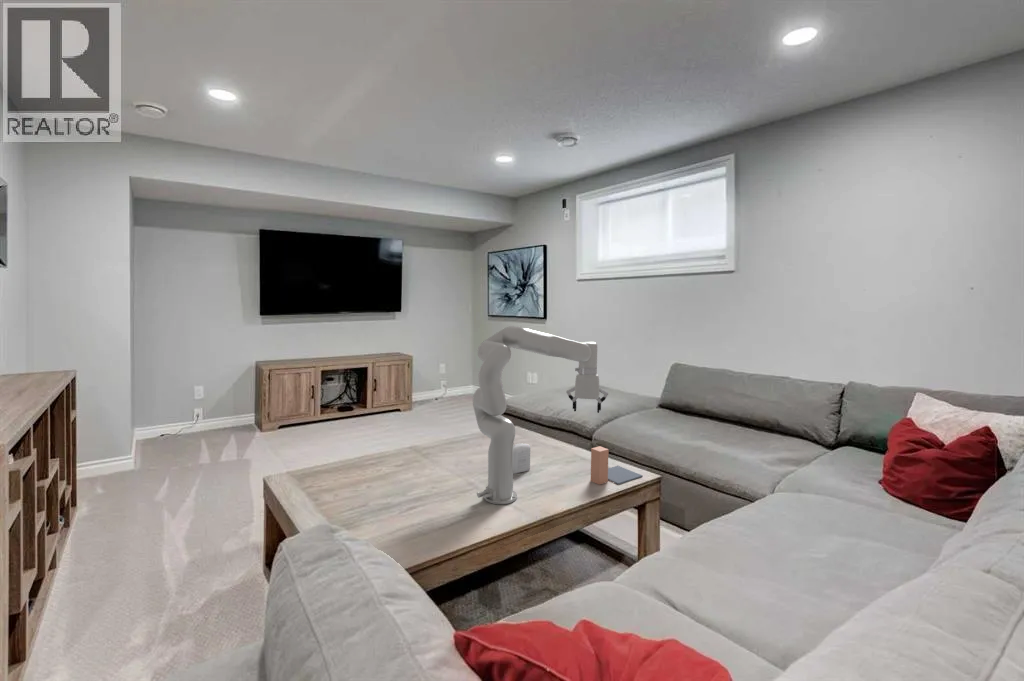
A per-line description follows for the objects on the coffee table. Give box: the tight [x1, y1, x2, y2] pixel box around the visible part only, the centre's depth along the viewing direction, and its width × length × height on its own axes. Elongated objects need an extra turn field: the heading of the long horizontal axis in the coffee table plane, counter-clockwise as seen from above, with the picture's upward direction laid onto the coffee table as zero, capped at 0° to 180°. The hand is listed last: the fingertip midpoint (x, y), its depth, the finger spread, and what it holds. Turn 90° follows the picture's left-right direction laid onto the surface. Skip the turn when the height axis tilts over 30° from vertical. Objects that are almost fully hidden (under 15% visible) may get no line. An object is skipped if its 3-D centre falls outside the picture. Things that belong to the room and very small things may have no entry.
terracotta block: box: [590, 445, 610, 486], centre depth 199 cm, size 5×5×14 cm
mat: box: [608, 465, 643, 485], centre depth 207 cm, size 15×14×1 cm
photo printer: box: [513, 442, 531, 475], centre depth 210 cm, size 10×4×12 cm, turn 123°
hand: (586, 411), depth 201 cm, fingers open, 9 cm apart
